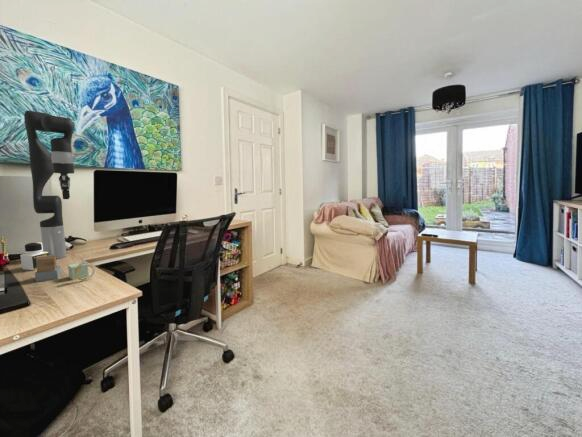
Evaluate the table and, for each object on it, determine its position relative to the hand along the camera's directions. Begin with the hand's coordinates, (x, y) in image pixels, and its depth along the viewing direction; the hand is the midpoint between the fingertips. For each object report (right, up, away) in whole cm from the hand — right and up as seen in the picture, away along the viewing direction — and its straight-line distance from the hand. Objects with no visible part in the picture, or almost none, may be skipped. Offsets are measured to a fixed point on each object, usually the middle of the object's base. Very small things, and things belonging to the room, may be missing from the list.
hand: (66, 198), depth 124 cm
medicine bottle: (-18, -33, +5) cm, 38 cm away
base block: (-1, -35, -8) cm, 36 cm away
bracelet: (+17, -35, -11) cm, 41 cm away
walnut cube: (-1, -31, -9) cm, 32 cm away
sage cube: (+11, -35, -7) cm, 37 cm away
